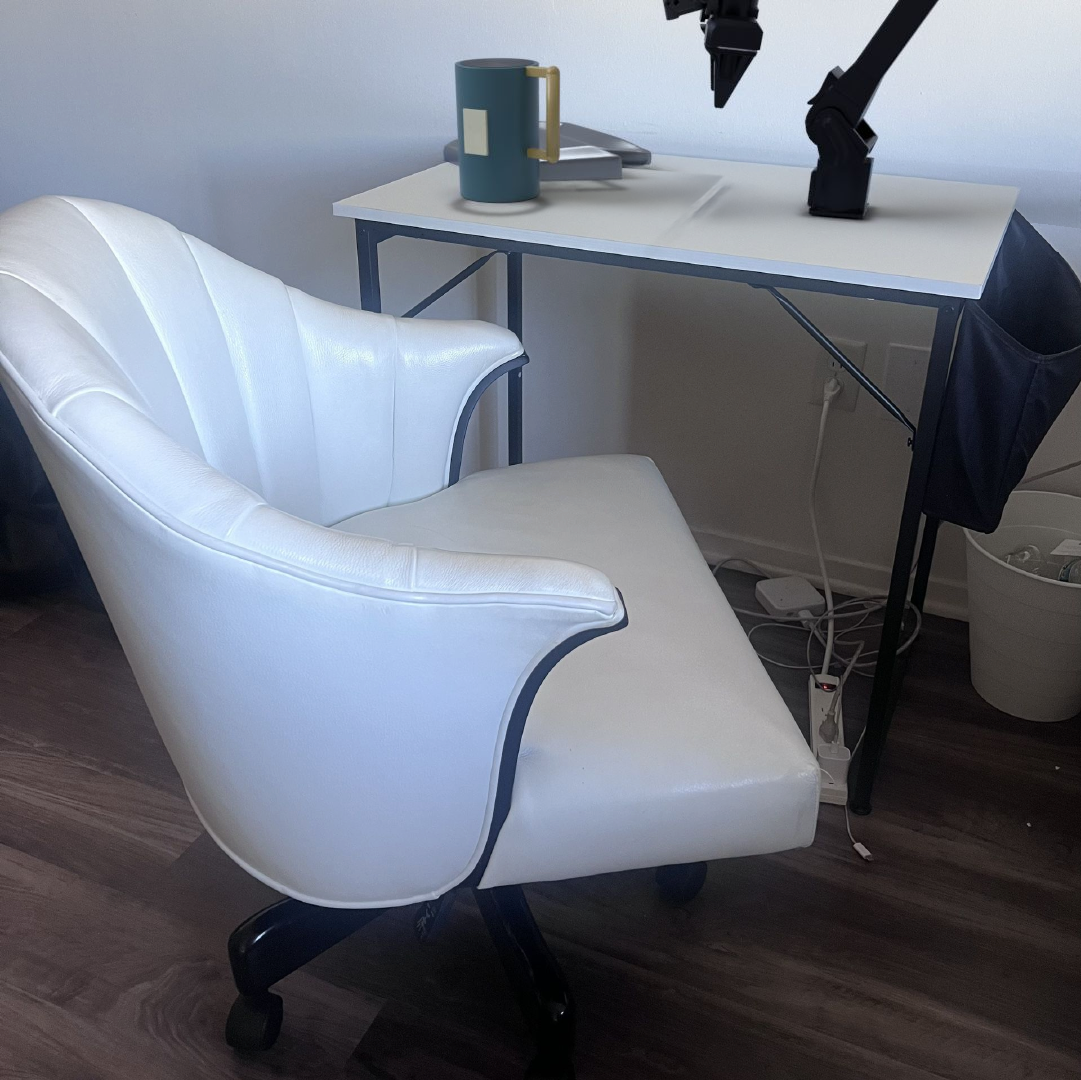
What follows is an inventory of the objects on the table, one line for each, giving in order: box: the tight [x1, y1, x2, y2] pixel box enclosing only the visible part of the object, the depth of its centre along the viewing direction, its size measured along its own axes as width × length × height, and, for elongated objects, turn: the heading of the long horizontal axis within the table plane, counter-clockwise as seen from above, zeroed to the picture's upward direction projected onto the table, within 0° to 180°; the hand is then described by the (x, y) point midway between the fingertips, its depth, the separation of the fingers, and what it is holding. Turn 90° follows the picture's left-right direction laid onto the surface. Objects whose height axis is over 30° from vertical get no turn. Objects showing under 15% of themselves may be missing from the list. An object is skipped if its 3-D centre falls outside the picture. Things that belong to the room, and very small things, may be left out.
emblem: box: [442, 120, 653, 182], centre depth 146 cm, size 28×5×28 cm
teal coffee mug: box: [454, 57, 561, 204], centre depth 125 cm, size 14×10×15 cm
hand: (716, 99), depth 127 cm, fingers open, 9 cm apart
